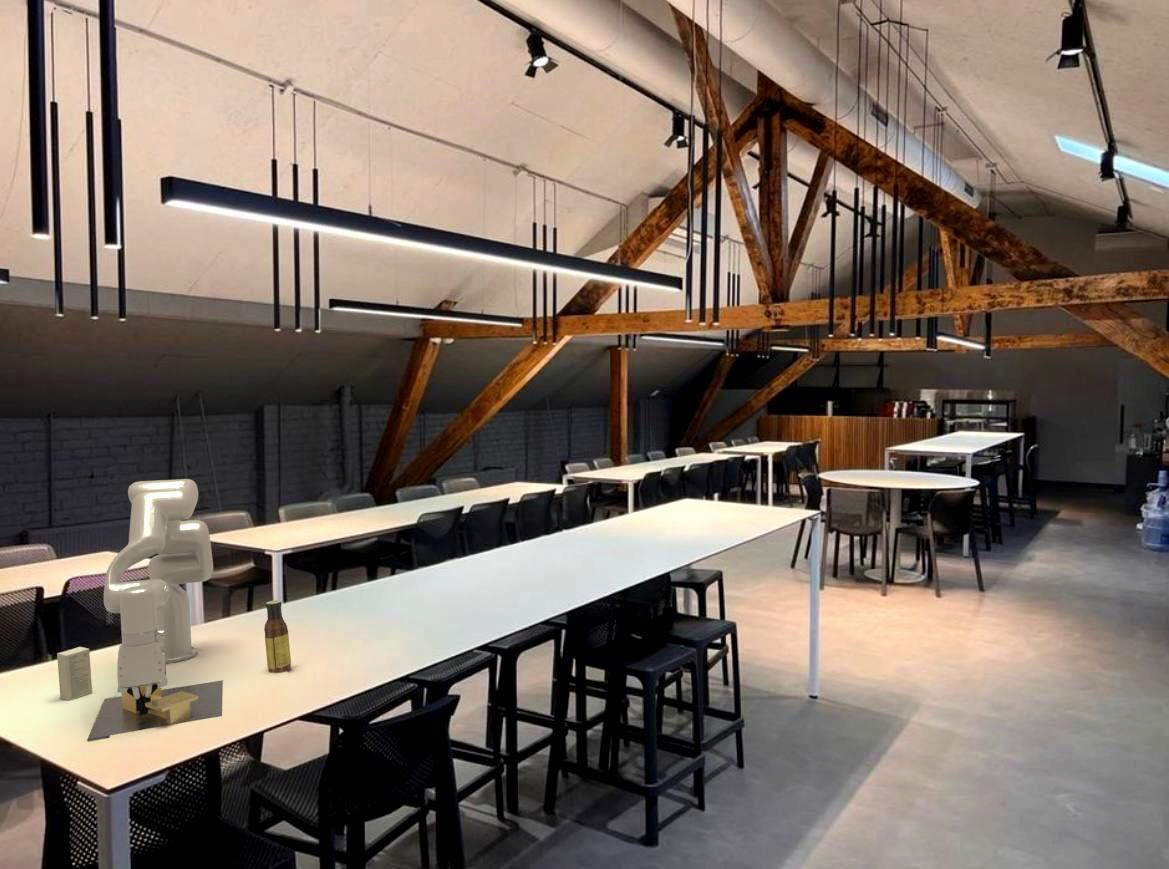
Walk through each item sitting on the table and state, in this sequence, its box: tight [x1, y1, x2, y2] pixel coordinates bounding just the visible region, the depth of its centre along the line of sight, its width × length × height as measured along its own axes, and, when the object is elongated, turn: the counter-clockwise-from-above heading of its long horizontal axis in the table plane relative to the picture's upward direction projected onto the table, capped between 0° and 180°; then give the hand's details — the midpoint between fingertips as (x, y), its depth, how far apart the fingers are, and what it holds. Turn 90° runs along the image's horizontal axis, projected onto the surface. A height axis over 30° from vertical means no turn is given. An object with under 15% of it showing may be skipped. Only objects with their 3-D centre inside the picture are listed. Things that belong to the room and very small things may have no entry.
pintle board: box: [86, 680, 224, 742], centre depth 202 cm, size 29×28×6 cm
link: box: [121, 685, 167, 719], centre depth 200 cm, size 18×6×6 cm, turn 57°
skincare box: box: [56, 646, 93, 701], centre depth 214 cm, size 6×4×12 cm
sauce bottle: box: [264, 599, 292, 674], centre depth 228 cm, size 6×6×20 cm
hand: (144, 712), depth 196 cm, fingers closed
